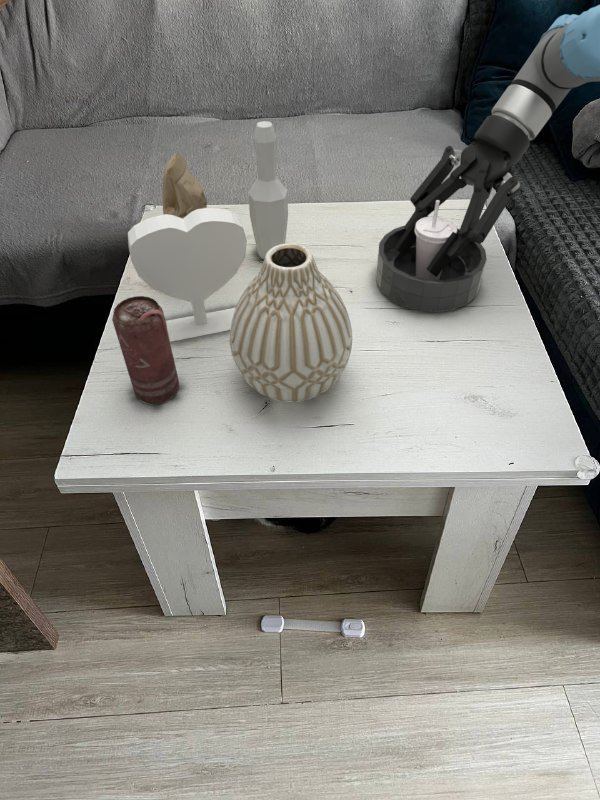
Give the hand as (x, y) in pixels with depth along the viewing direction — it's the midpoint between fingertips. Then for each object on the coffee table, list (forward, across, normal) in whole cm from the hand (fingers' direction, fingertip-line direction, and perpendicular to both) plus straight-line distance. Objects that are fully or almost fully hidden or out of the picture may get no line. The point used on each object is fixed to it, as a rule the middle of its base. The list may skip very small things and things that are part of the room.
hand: (415, 262), depth 93 cm
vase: (+23, -4, +15) cm, 28 cm away
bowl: (+1, 0, -6) cm, 6 cm away
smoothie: (+1, 0, -6) cm, 6 cm away
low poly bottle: (+12, +23, +4) cm, 26 cm away
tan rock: (+22, +25, +14) cm, 36 cm away
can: (+34, +5, +26) cm, 44 cm away
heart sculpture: (+26, +13, +18) cm, 34 cm away
